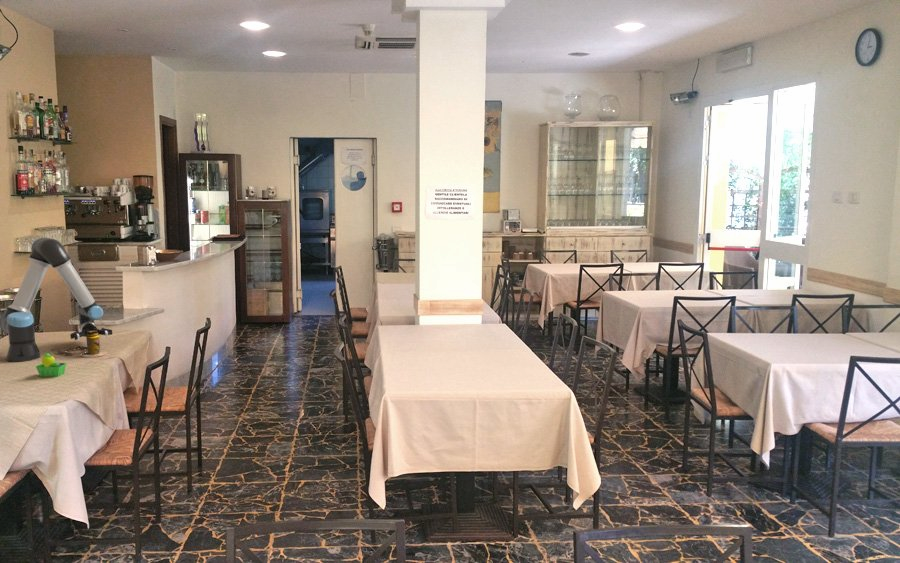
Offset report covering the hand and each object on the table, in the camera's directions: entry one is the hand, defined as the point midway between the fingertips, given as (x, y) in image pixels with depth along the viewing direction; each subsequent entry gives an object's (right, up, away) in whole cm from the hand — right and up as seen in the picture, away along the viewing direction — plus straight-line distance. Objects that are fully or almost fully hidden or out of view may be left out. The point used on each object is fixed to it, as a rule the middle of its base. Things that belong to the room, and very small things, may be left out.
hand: (93, 336), depth 393 cm
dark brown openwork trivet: (-12, -9, +6) cm, 16 cm away
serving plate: (+1, -10, -1) cm, 10 cm away
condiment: (0, -9, -1) cm, 9 cm away
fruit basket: (0, -15, -41) cm, 43 cm away
